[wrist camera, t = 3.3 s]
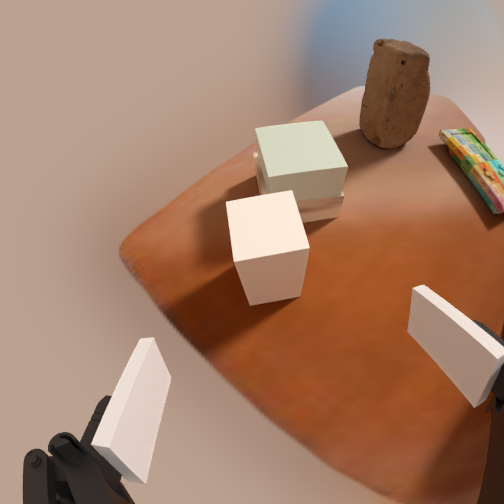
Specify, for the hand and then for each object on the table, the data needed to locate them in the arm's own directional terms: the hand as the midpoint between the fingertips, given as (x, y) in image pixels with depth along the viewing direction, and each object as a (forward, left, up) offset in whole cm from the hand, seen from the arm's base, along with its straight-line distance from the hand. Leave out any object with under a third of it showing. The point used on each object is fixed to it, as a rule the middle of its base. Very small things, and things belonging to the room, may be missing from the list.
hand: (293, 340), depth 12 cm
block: (+34, -27, -18) cm, 47 cm away
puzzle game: (+23, -46, -18) cm, 55 cm away
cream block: (+11, 0, -18) cm, 21 cm away
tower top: (+22, -6, -13) cm, 27 cm away
